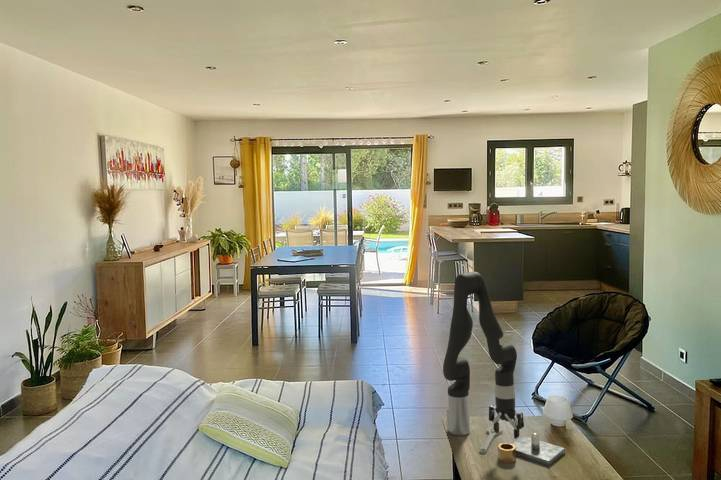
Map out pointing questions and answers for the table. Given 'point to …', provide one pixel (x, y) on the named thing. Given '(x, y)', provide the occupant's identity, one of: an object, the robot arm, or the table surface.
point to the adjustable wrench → (489, 439)
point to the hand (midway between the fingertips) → (506, 435)
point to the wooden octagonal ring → (507, 452)
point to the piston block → (537, 450)
